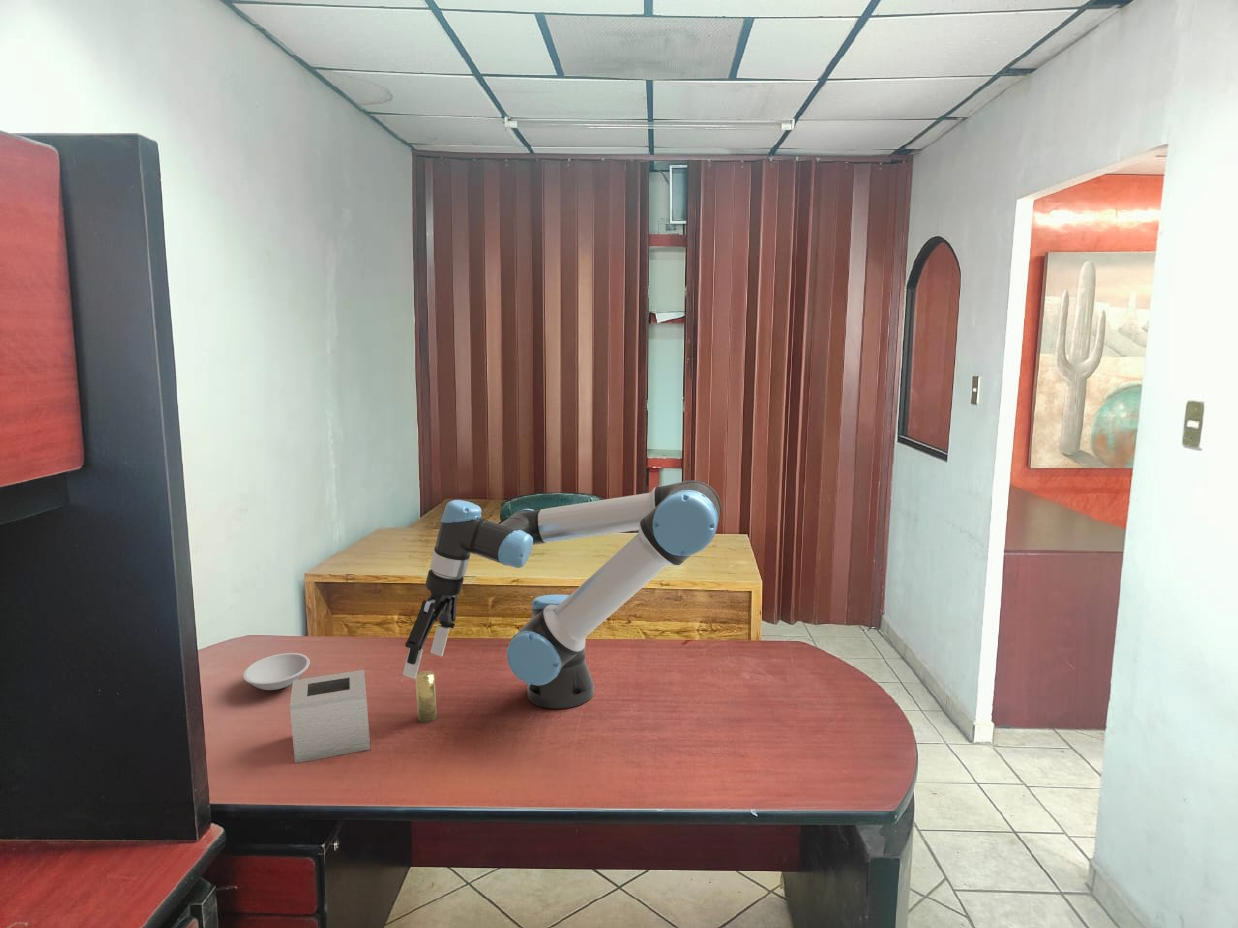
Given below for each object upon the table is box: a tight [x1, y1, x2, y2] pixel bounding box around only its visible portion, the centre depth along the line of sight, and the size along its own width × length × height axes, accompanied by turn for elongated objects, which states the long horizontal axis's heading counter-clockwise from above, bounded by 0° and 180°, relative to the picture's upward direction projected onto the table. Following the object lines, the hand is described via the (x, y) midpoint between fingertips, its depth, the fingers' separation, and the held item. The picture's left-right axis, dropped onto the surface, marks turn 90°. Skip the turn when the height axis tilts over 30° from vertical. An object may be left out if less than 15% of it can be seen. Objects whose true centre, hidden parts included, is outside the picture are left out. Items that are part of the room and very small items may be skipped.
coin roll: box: [414, 670, 438, 724], centre depth 168 cm, size 4×4×10 cm
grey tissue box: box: [289, 669, 371, 764], centre depth 159 cm, size 14×12×12 cm
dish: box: [242, 652, 311, 691], centre depth 186 cm, size 18×14×5 cm
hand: (423, 664), depth 168 cm, fingers open, 13 cm apart
